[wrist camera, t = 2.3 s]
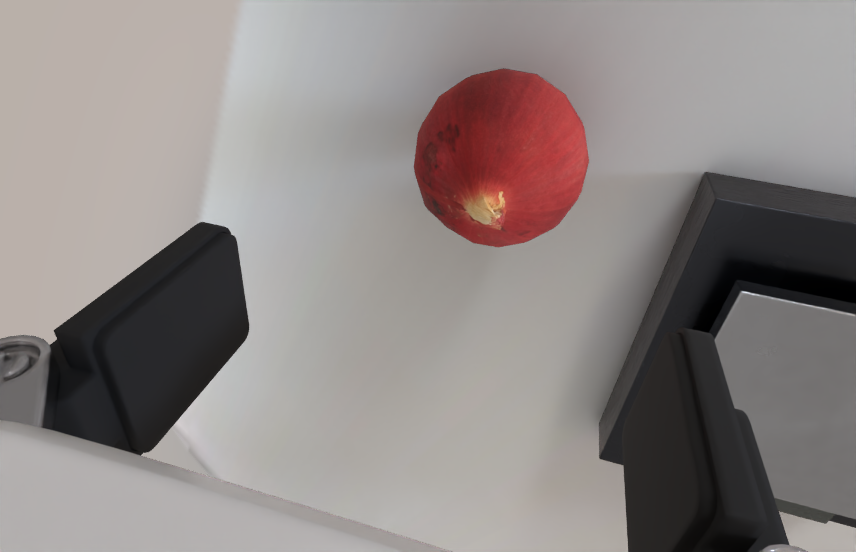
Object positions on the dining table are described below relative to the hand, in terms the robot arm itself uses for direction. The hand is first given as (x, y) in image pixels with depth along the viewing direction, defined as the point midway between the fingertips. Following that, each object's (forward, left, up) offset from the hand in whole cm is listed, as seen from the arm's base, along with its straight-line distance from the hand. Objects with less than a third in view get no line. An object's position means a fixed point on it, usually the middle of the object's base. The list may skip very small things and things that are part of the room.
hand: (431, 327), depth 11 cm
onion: (0, 0, -13) cm, 13 cm away
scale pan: (+8, +14, -9) cm, 18 cm away
